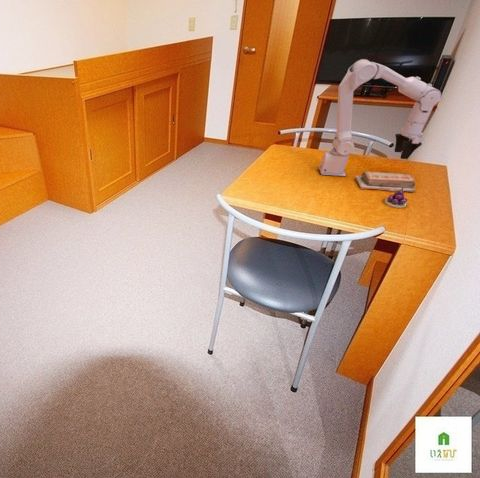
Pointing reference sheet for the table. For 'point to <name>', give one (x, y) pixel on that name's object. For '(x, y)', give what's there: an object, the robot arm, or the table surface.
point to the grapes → (397, 199)
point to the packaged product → (386, 181)
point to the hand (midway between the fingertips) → (400, 155)
